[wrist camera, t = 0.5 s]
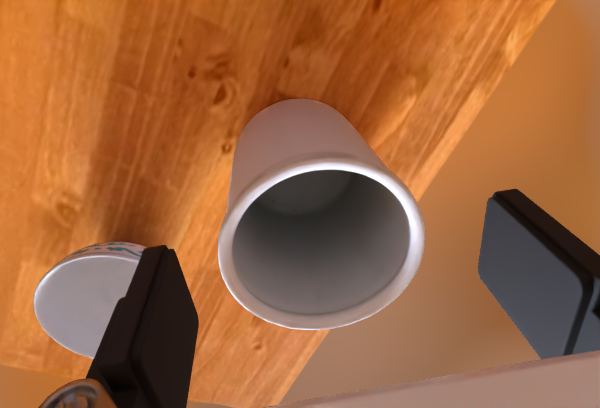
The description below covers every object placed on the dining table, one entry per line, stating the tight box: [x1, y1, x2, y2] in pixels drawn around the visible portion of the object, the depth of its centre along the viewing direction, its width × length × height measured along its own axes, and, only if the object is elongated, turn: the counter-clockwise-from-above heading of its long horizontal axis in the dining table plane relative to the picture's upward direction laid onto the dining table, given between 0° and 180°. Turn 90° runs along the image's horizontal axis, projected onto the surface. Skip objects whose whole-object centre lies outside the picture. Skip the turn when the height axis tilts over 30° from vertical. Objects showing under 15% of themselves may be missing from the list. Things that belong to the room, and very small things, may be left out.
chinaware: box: [34, 241, 147, 358], centre depth 44 cm, size 15×15×8 cm
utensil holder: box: [218, 98, 425, 330], centre depth 35 cm, size 15×15×18 cm
